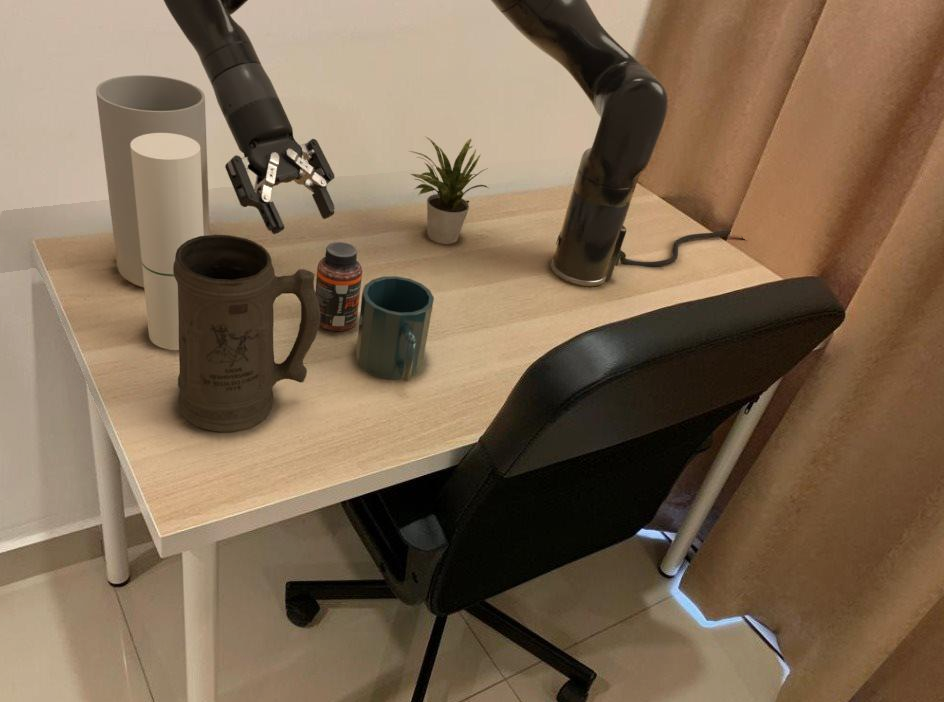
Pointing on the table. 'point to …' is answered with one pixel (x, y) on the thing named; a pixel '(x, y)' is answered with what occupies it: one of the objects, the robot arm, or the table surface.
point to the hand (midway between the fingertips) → (305, 223)
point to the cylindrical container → (165, 221)
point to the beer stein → (235, 330)
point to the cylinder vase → (135, 114)
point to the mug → (393, 327)
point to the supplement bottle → (338, 286)
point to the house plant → (447, 195)
